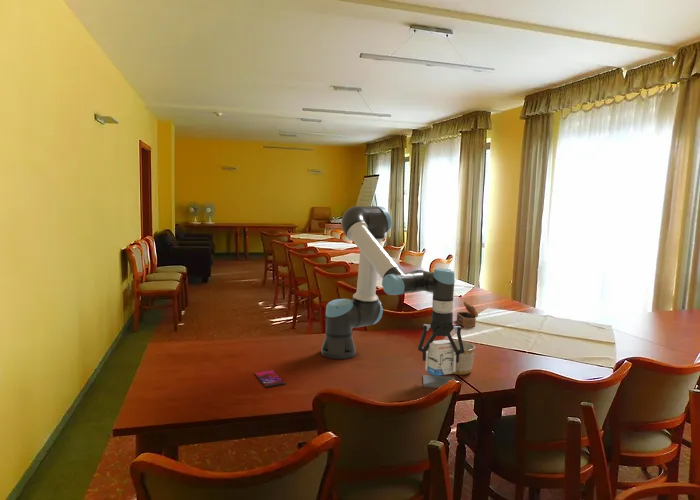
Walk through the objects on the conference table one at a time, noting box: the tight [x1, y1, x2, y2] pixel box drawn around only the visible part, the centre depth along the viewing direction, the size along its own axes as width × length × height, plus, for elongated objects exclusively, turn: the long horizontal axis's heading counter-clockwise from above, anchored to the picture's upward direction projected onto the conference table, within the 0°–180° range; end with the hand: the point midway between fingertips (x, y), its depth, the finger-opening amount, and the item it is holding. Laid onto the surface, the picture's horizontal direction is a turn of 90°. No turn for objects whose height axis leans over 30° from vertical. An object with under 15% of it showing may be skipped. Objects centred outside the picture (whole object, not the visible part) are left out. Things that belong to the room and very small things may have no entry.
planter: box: [451, 339, 476, 376], centre depth 185 cm, size 13×13×10 cm
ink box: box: [426, 339, 454, 376], centre depth 172 cm, size 9×5×12 cm, turn 118°
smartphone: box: [254, 369, 286, 389], centre depth 173 cm, size 8×1×15 cm
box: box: [456, 301, 479, 328], centre depth 256 cm, size 28×28×12 cm
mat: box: [422, 374, 456, 389], centre depth 173 cm, size 12×10×1 cm
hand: (440, 369), depth 173 cm, fingers closed on ink box, 9 cm apart
